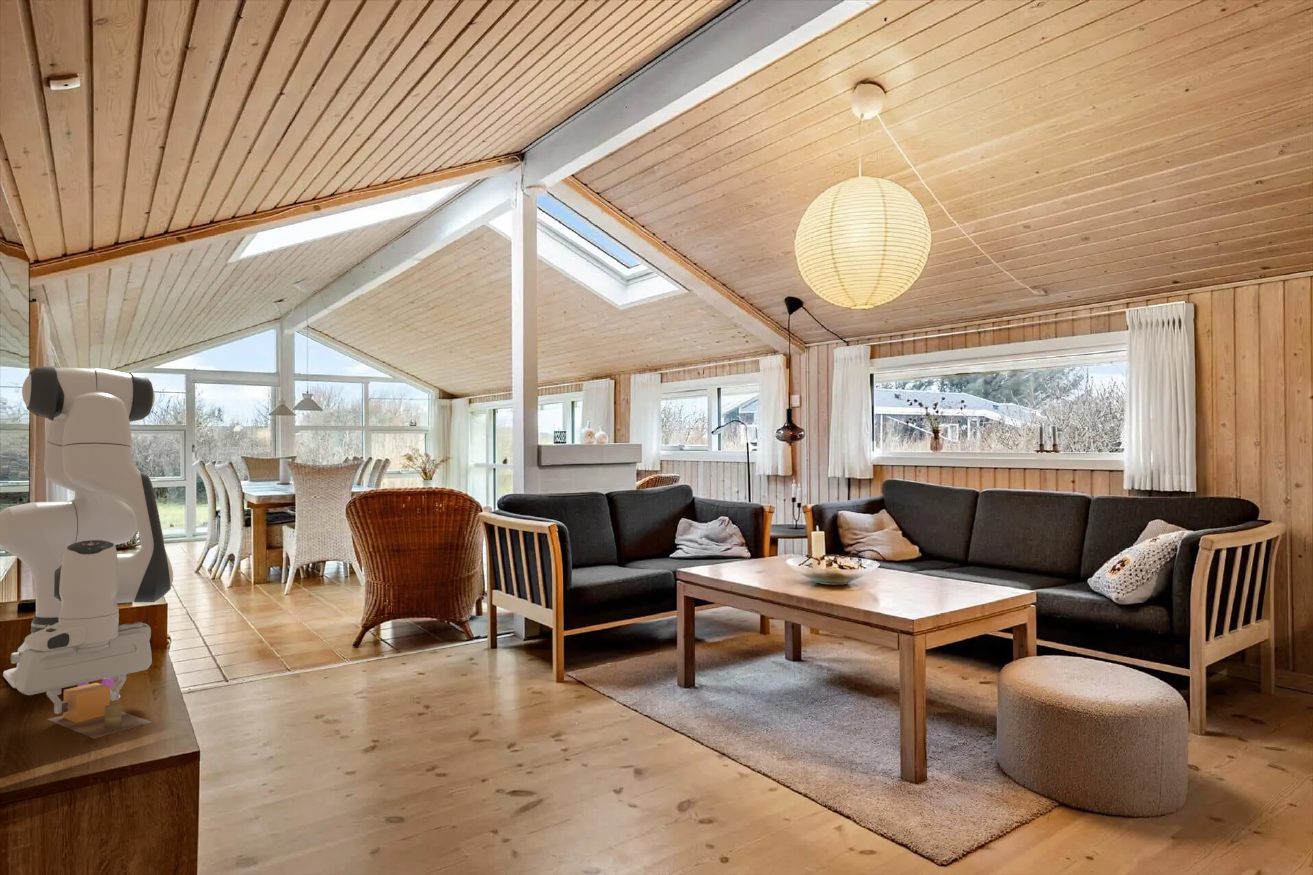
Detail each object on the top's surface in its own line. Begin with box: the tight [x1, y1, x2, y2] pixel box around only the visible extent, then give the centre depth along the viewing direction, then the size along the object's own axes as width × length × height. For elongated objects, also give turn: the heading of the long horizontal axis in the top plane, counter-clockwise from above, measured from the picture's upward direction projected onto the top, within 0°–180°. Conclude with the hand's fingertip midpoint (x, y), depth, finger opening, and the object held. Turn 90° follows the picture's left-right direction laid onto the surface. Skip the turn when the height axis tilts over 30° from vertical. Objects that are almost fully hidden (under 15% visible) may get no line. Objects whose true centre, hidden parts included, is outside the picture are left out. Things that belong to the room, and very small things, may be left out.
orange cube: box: [62, 682, 111, 723], centre depth 137 cm, size 5×5×5 cm
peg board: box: [46, 703, 153, 739], centre depth 134 cm, size 18×9×5 cm, turn 59°
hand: (87, 706), depth 137 cm, fingers open, 7 cm apart
